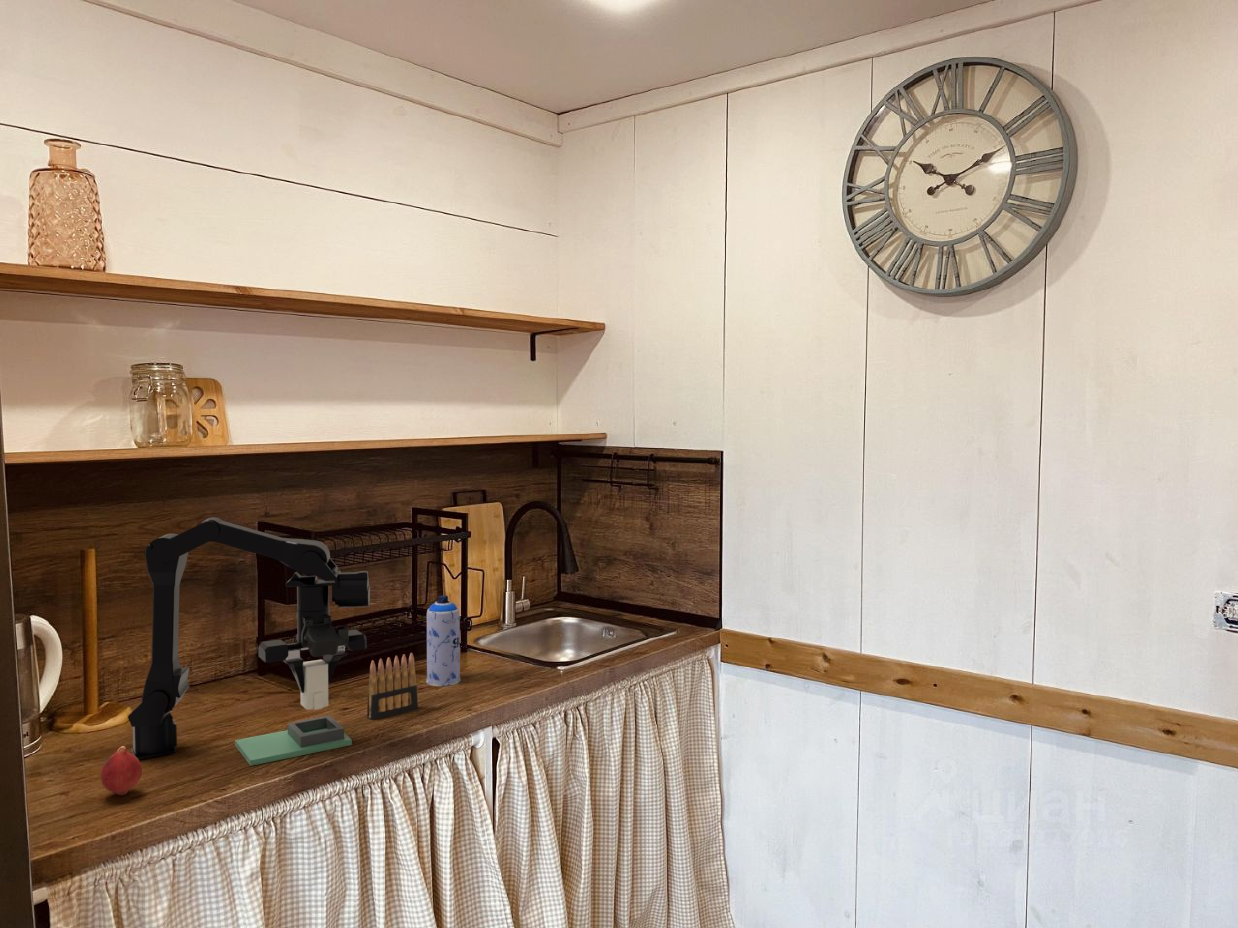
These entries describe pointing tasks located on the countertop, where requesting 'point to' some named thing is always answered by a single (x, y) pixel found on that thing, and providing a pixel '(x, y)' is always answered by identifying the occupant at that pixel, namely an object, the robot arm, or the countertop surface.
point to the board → (294, 741)
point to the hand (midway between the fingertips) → (314, 690)
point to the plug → (315, 685)
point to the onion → (121, 772)
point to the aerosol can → (443, 643)
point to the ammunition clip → (392, 689)
